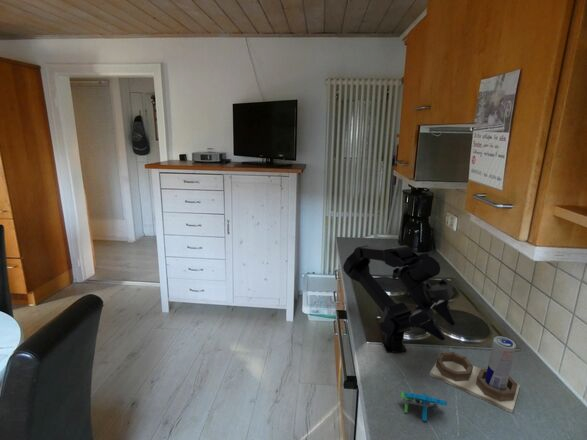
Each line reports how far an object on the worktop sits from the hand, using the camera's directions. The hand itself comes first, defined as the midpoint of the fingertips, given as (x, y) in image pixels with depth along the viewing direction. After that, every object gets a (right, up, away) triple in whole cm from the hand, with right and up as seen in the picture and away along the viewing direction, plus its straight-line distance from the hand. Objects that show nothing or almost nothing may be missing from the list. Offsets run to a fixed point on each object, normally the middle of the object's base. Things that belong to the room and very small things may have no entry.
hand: (449, 332), depth 99 cm
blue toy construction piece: (-11, -17, -9) cm, 23 cm away
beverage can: (+11, -14, -3) cm, 18 cm away
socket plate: (+7, -14, 0) cm, 16 cm away
